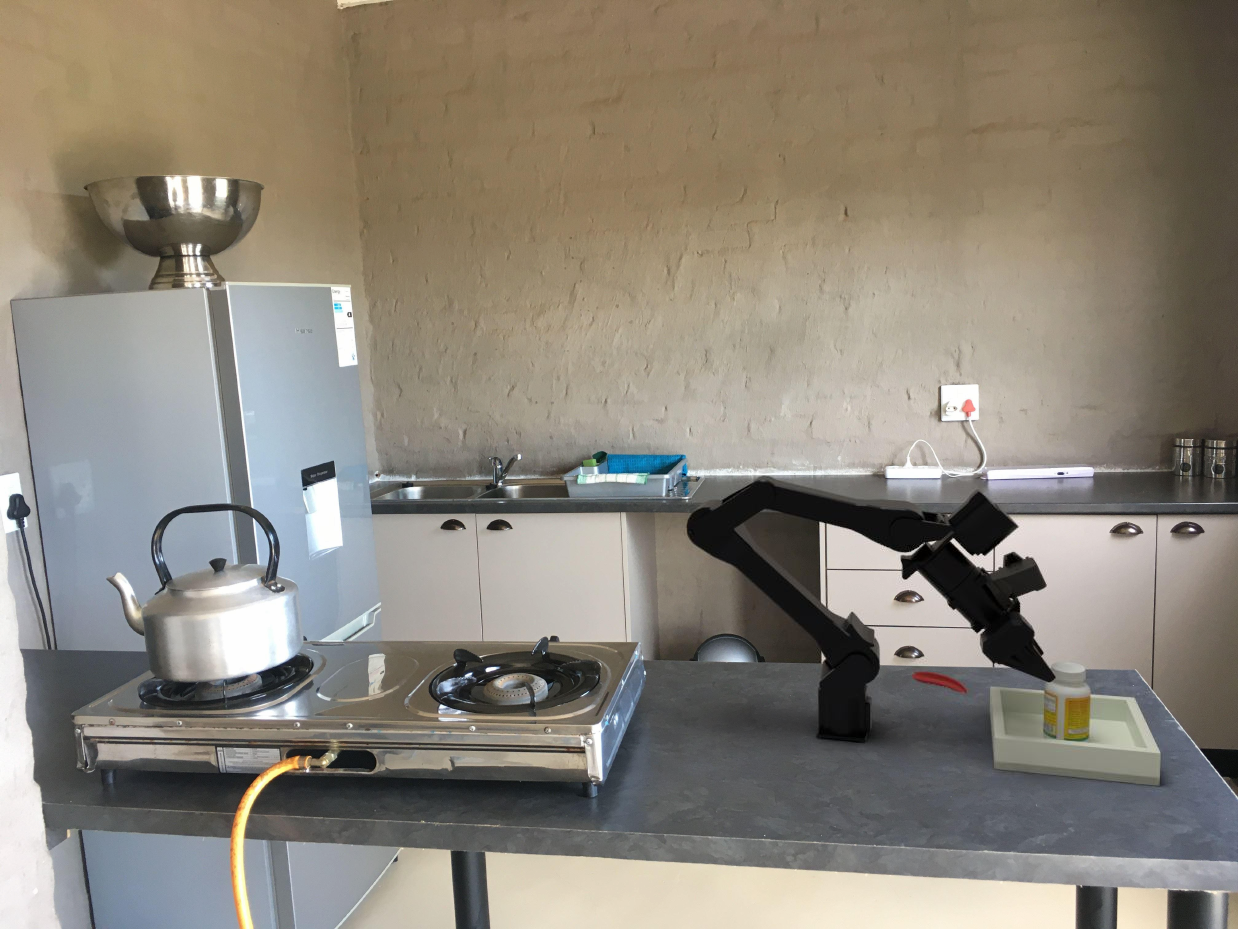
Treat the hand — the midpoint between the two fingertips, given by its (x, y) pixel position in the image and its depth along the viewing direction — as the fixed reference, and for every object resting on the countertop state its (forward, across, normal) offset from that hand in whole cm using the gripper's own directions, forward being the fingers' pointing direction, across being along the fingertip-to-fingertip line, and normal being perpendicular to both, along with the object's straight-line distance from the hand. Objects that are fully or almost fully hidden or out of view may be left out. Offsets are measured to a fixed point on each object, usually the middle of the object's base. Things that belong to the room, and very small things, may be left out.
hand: (1046, 667), depth 125 cm
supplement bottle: (+9, 0, +5) cm, 10 cm away
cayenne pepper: (0, +21, +16) cm, 26 cm away
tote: (+9, 0, +5) cm, 11 cm away
